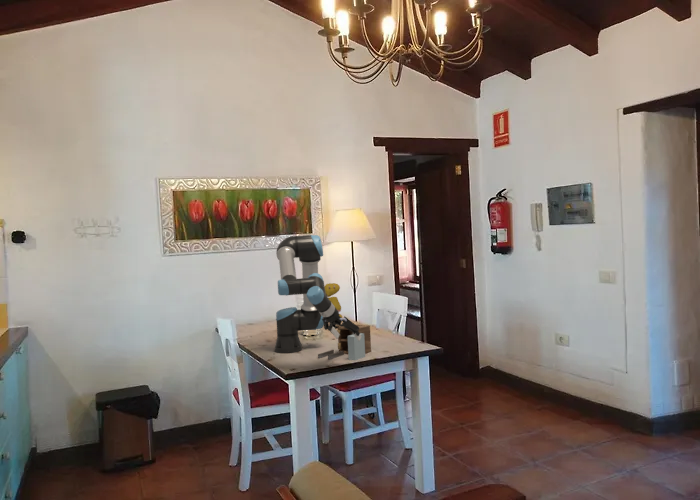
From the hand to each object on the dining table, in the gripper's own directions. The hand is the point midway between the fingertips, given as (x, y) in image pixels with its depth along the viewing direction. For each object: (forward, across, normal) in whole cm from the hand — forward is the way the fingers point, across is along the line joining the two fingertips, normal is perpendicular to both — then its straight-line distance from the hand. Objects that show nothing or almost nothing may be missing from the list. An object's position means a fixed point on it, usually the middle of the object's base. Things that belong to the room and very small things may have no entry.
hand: (349, 337), depth 285 cm
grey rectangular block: (+13, -1, -3) cm, 14 cm away
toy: (+60, -70, +43) cm, 102 cm away
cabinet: (+16, -11, -1) cm, 19 cm away
